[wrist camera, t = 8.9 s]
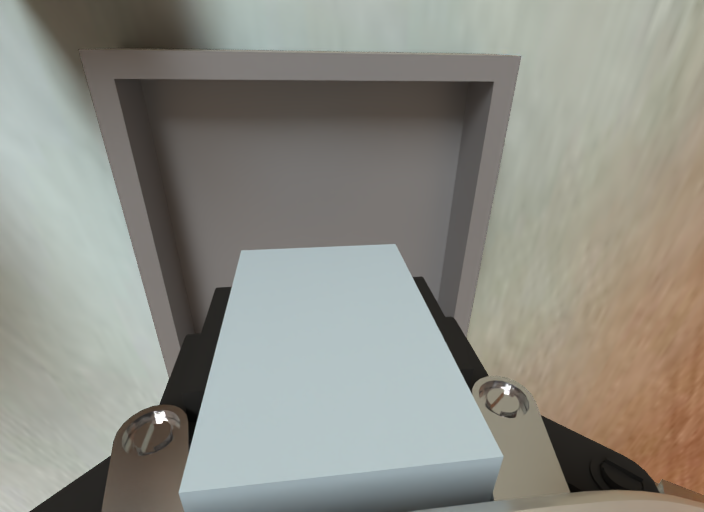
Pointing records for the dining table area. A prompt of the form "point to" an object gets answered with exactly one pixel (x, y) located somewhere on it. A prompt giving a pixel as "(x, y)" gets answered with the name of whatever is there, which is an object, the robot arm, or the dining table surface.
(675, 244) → the dining table surface
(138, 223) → the tray
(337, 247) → the grey rectangular block
